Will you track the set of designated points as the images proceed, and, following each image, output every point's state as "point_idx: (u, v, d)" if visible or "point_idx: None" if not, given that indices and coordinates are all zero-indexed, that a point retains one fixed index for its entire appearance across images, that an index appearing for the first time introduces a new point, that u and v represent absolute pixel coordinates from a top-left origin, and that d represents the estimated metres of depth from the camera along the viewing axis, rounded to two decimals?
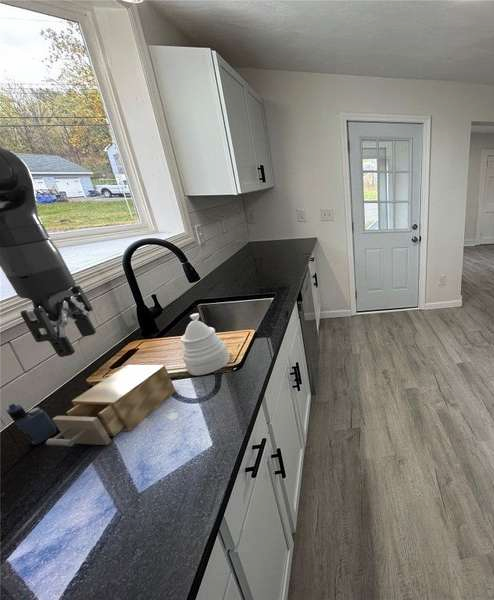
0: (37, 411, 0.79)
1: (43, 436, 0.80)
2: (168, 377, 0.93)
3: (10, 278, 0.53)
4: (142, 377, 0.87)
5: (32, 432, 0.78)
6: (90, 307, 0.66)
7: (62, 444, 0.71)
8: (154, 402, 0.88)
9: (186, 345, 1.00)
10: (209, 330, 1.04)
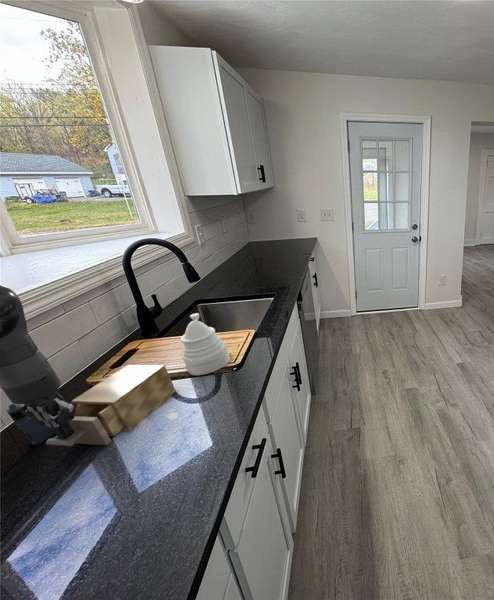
0: None
1: (43, 436, 0.80)
2: (168, 377, 0.93)
3: (28, 385, 0.64)
4: (142, 377, 0.87)
5: (32, 432, 0.78)
6: None
7: (62, 444, 0.71)
8: (154, 402, 0.88)
9: (186, 345, 1.00)
10: (209, 330, 1.04)
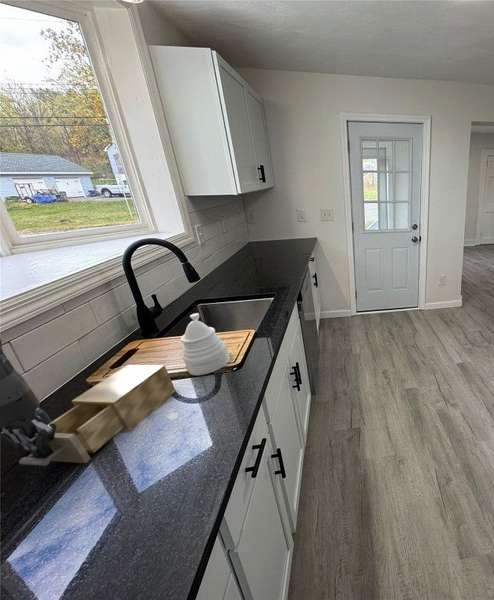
0: (37, 411, 0.79)
1: None
2: (168, 377, 0.93)
3: (2, 407, 0.60)
4: (142, 377, 0.87)
5: None
6: None
7: (36, 463, 0.66)
8: (154, 402, 0.88)
9: (186, 345, 1.00)
10: (209, 330, 1.04)
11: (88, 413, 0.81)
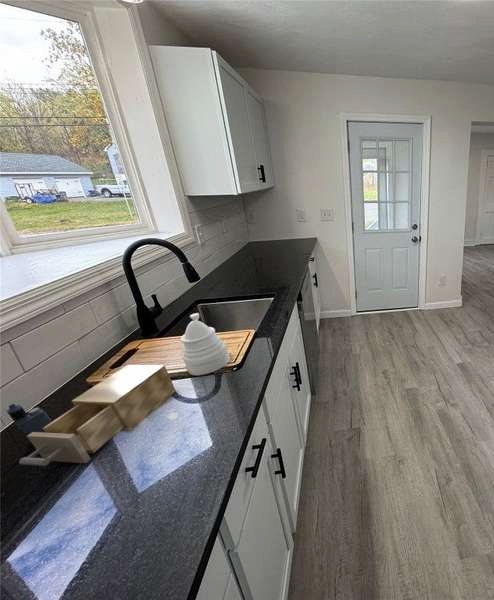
0: (37, 411, 0.79)
1: None
2: (168, 377, 0.93)
3: None
4: (142, 377, 0.87)
5: None
6: None
7: (36, 464, 0.66)
8: (154, 402, 0.88)
9: (186, 345, 1.00)
10: (209, 330, 1.04)
11: (88, 413, 0.81)
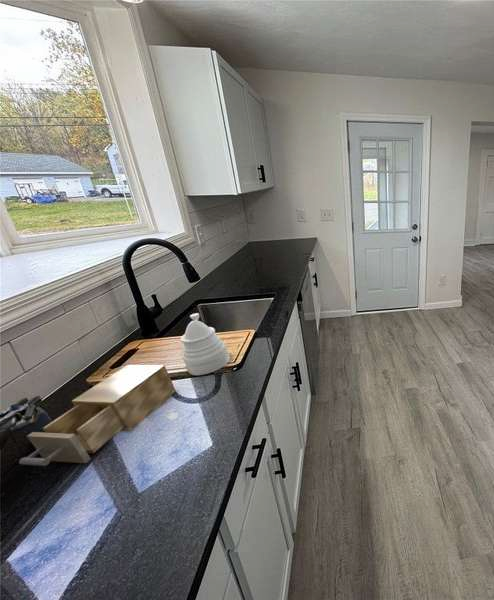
0: None
1: None
2: (168, 377, 0.93)
3: None
4: (142, 377, 0.87)
5: None
6: None
7: (36, 464, 0.66)
8: (154, 402, 0.88)
9: (186, 345, 1.00)
10: (209, 330, 1.04)
11: (88, 413, 0.81)
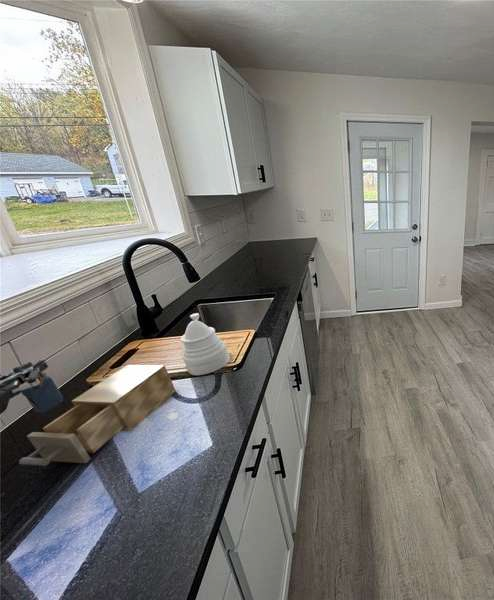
0: None
1: (48, 404, 0.73)
2: (168, 377, 0.93)
3: None
4: (142, 377, 0.87)
5: (37, 399, 0.71)
6: None
7: (36, 464, 0.66)
8: (154, 402, 0.88)
9: (186, 345, 1.00)
10: (209, 330, 1.04)
11: (88, 413, 0.81)
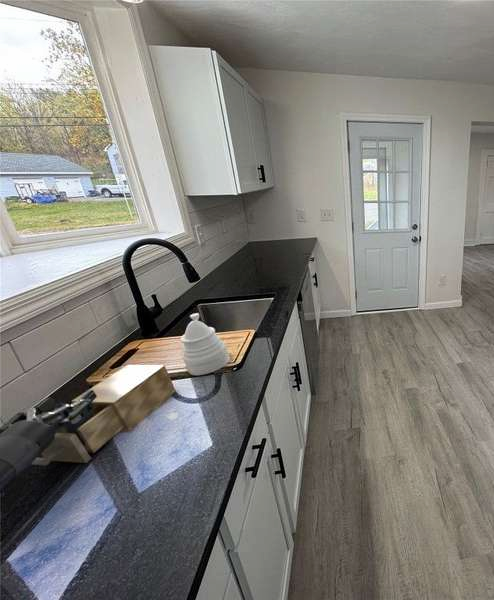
0: None
1: None
2: (168, 377, 0.93)
3: (40, 452, 0.62)
4: (142, 377, 0.87)
5: None
6: (18, 414, 0.68)
7: (36, 463, 0.66)
8: (154, 402, 0.88)
9: (186, 345, 1.00)
10: (209, 330, 1.04)
11: None
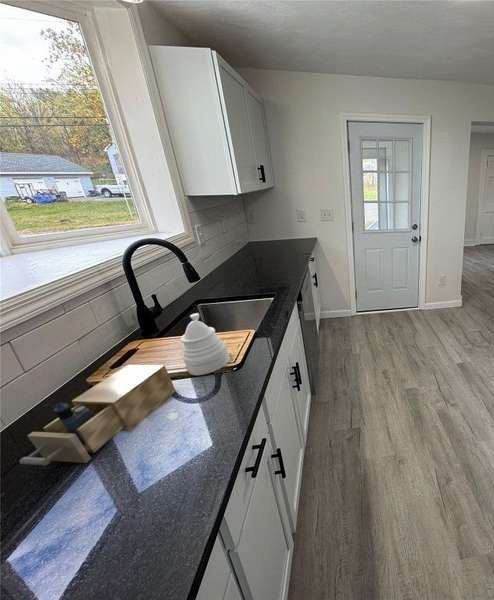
0: (83, 410, 0.75)
1: None
2: (168, 377, 0.93)
3: None
4: (142, 377, 0.87)
5: None
6: None
7: (36, 463, 0.66)
8: (154, 402, 0.88)
9: (186, 345, 1.00)
10: (209, 330, 1.04)
11: None
